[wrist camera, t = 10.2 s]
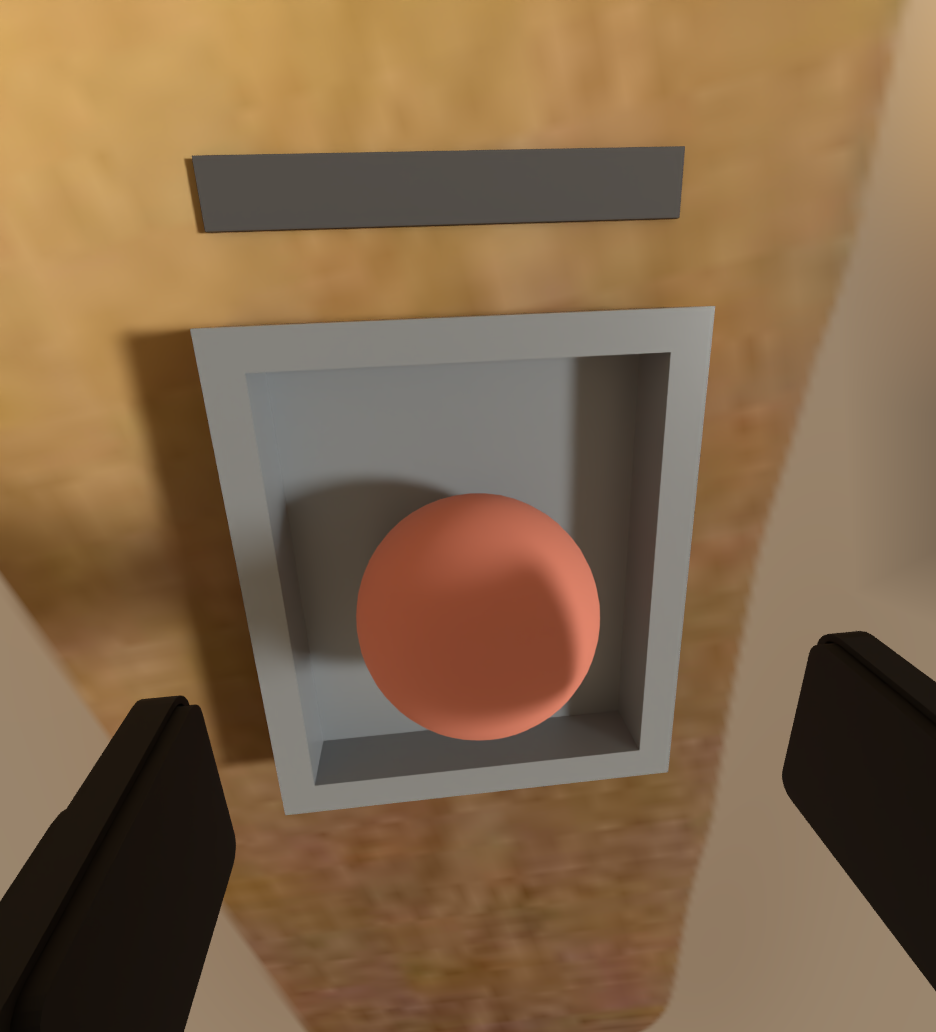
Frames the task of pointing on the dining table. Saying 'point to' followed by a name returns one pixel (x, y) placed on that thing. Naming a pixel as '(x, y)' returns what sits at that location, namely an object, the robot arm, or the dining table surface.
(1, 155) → the dining table surface
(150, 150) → the dining table surface
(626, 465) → the tray
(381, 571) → the ball
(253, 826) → the dining table surface
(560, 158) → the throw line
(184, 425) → the dining table surface
